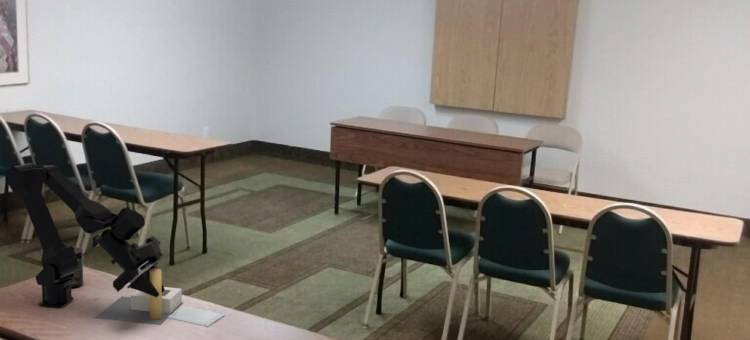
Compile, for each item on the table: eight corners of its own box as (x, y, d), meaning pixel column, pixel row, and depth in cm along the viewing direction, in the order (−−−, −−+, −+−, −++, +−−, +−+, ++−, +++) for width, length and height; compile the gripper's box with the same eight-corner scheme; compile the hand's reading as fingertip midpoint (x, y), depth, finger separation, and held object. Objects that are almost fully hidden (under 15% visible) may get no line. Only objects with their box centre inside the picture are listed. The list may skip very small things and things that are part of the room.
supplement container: (88, 284, 214) (87, 250, 212) (68, 291, 209) (67, 256, 207) (74, 279, 218) (73, 245, 216) (53, 285, 212) (52, 251, 210)
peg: (147, 319, 192) (147, 271, 189) (152, 314, 194) (152, 268, 192) (158, 320, 191) (158, 272, 189) (163, 315, 194) (163, 269, 192)
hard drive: (167, 316, 193) (208, 324, 189) (185, 305, 200) (225, 313, 196) (167, 322, 193) (208, 331, 189) (185, 311, 201) (225, 319, 197)
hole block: (130, 309, 197) (130, 295, 196) (143, 298, 205) (143, 284, 204) (170, 313, 196) (170, 299, 195) (181, 302, 204) (181, 288, 203)
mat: (94, 319, 191) (94, 317, 191) (121, 297, 206) (121, 296, 206) (160, 326, 189) (160, 324, 189) (183, 304, 204) (183, 302, 204)
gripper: (123, 240, 179) (167, 287, 180) (155, 220, 198) (195, 263, 199) (94, 268, 182) (137, 314, 183) (128, 246, 200) (167, 288, 201)
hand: (160, 293), depth 191 cm, fingers closed on peg, 3 cm apart
